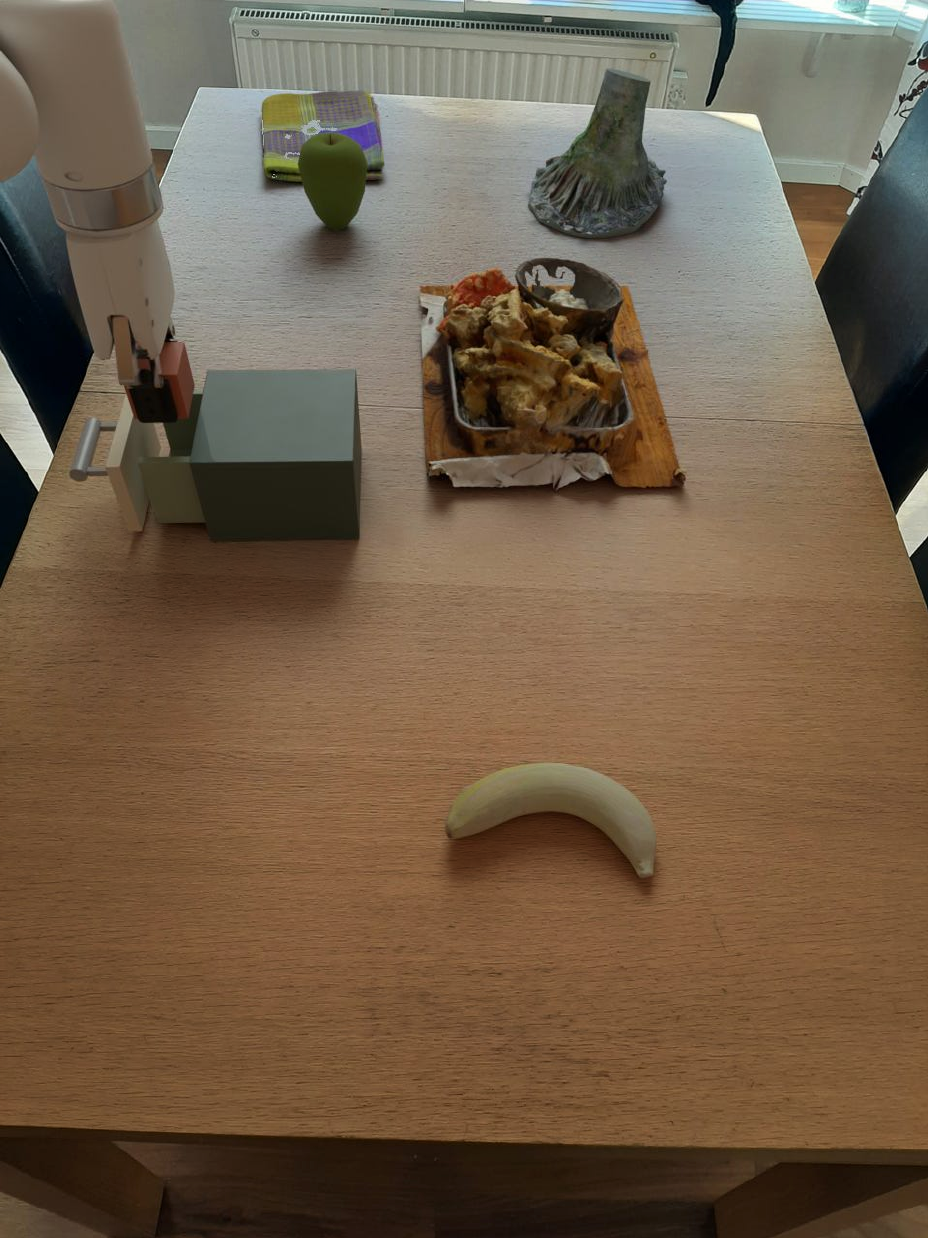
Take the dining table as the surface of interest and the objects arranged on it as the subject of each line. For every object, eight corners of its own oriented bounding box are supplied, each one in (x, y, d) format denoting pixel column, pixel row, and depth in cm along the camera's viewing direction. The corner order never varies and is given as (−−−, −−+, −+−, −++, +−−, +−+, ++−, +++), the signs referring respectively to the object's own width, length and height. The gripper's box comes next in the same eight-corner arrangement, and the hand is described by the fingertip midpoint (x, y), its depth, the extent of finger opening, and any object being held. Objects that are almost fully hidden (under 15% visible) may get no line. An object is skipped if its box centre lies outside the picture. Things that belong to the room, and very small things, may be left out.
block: (134, 419, 76) (119, 375, 73) (143, 385, 79) (129, 341, 75) (188, 418, 77) (176, 374, 73) (195, 385, 79) (184, 341, 76)
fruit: (459, 760, 70) (460, 737, 67) (655, 793, 68) (664, 772, 66) (442, 846, 65) (442, 826, 63) (651, 883, 64) (661, 864, 61)
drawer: (80, 532, 82) (52, 467, 75) (104, 447, 89) (81, 382, 82) (268, 529, 83) (255, 465, 76) (277, 446, 90) (266, 381, 83)
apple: (383, 228, 118) (380, 136, 109) (330, 249, 114) (322, 156, 105) (344, 201, 122) (338, 110, 113) (291, 220, 118) (280, 128, 109)
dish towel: (259, 185, 124) (256, 164, 121) (262, 107, 138) (260, 88, 136) (387, 182, 125) (386, 162, 123) (377, 106, 140) (376, 86, 138)
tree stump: (494, 208, 123) (519, 55, 112) (573, 193, 136) (603, 55, 125) (606, 251, 115) (645, 91, 104) (679, 230, 128) (720, 87, 117)
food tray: (418, 291, 109) (418, 204, 101) (627, 291, 110) (643, 205, 102) (427, 494, 87) (427, 405, 79) (685, 490, 89) (713, 403, 80)
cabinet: (210, 541, 83) (188, 462, 75) (225, 449, 90) (207, 369, 83) (359, 539, 83) (353, 461, 76) (361, 448, 91) (356, 368, 84)
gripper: (74, 135, 68) (136, 342, 83) (19, 255, 58) (100, 468, 72) (175, 135, 69) (219, 341, 83) (138, 255, 58) (195, 467, 73)
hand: (163, 398), depth 77 cm, fingers closed on block, 4 cm apart
